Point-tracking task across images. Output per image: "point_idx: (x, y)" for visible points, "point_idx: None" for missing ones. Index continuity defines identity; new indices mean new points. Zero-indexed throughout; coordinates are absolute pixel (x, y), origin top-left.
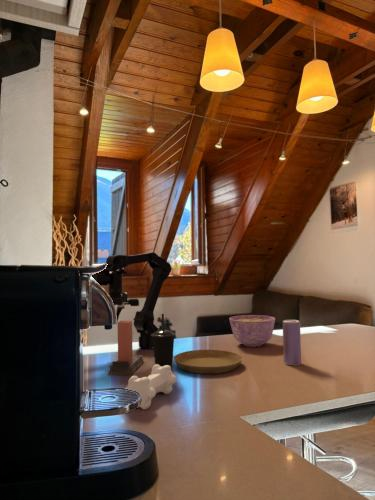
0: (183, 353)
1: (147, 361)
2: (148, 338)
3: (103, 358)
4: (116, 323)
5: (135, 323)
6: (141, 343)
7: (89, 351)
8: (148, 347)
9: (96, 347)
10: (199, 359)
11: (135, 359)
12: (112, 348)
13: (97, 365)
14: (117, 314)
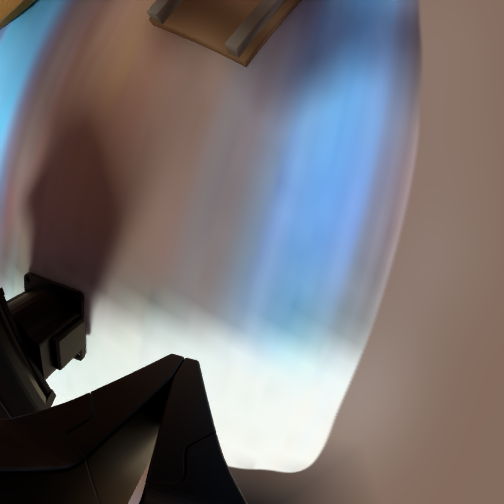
0: (14, 9)
1: (132, 30)
2: (20, 303)
3: (324, 205)
4: (170, 354)
5: (24, 404)
6: (65, 318)
7: (337, 397)
8: (49, 286)
9: (280, 447)
10: (5, 6)
11: (183, 28)
12: (214, 400)
13: (383, 78)
14: (97, 421)
